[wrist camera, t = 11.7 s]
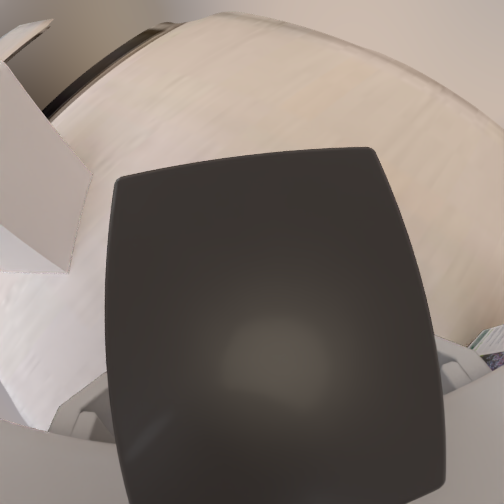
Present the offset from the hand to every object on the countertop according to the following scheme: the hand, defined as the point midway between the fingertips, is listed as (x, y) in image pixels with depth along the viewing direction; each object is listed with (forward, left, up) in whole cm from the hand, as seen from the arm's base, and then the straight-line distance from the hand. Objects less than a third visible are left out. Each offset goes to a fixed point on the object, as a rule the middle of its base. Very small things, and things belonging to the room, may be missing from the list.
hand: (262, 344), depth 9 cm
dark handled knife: (-1, 0, -7) cm, 7 cm away
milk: (+10, +26, -14) cm, 31 cm away
